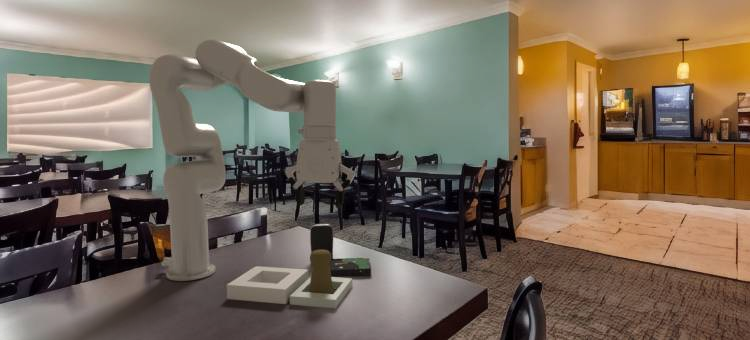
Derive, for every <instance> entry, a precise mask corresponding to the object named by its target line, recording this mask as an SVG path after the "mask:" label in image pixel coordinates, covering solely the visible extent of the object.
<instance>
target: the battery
mask: <svg viewBox="0 0 750 340" xmlns="http://www.w3.org/2000/svg"><path fill="white" fill-rule="evenodd" d="M309 236H310V237H309V241H310V254H311V253H312V252H313V251H315V250H328V251H329V252H330V253H331V259H334V229H333V227H332V225H331V224H330V223H315V224H312V225H311V227H310V232H309Z"/></svg>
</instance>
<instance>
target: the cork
mask: <svg viewBox="0 0 750 340" xmlns="http://www.w3.org/2000/svg"><path fill="white" fill-rule="evenodd" d="M309 261H310V263H311V265H312V266H311V274H310V277H311V281H310V290H309V292H311V293H323V294H334V293H335V292H334V289H333V285H332V278H331V272H330V265H329V264H330V262H331V253H330V252H329V251H328V250H315V251H313V252H312V253H311V252H310V254H309Z"/></svg>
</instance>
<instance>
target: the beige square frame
mask: <svg viewBox="0 0 750 340" xmlns="http://www.w3.org/2000/svg"><path fill="white" fill-rule="evenodd" d="M308 279H309V269H305V268H304V269H302V268H301V269H300V268H289V267H288V268H287V267H286V268H285V267H276V266H275V267H272V266H257V265H256V266H254V267H252V268H250V269H249V270H248V271H246V272H245V273H243V274H241V275H239V276H238V277H236V278H235V279H233V280H232V281H231V282H229V283H227V284H226V295H227V296H226V298H227V300H235V301H247V302H258V303H268V304H280V305H281V304H282V305H287V304H288V303H289V304H290V295H292V294H293V293H294V292H295V291H296V290H297V289H298V288H299V287H300V286H301V285H302V284H303V283H304V282H305V281H307V280H308Z"/></svg>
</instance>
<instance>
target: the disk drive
mask: <svg viewBox="0 0 750 340" xmlns="http://www.w3.org/2000/svg"><path fill="white" fill-rule="evenodd" d="M329 265H330V272H331V277H340V278H354V277H355V278H356V277H358V278H359V277H360V278H361V277H371V276H372V266H371V262H370V258H368V257H365V258H364V257H353V258H352V257H349V258H347V257H346V258H333V259H331V262H330V264H329Z"/></svg>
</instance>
